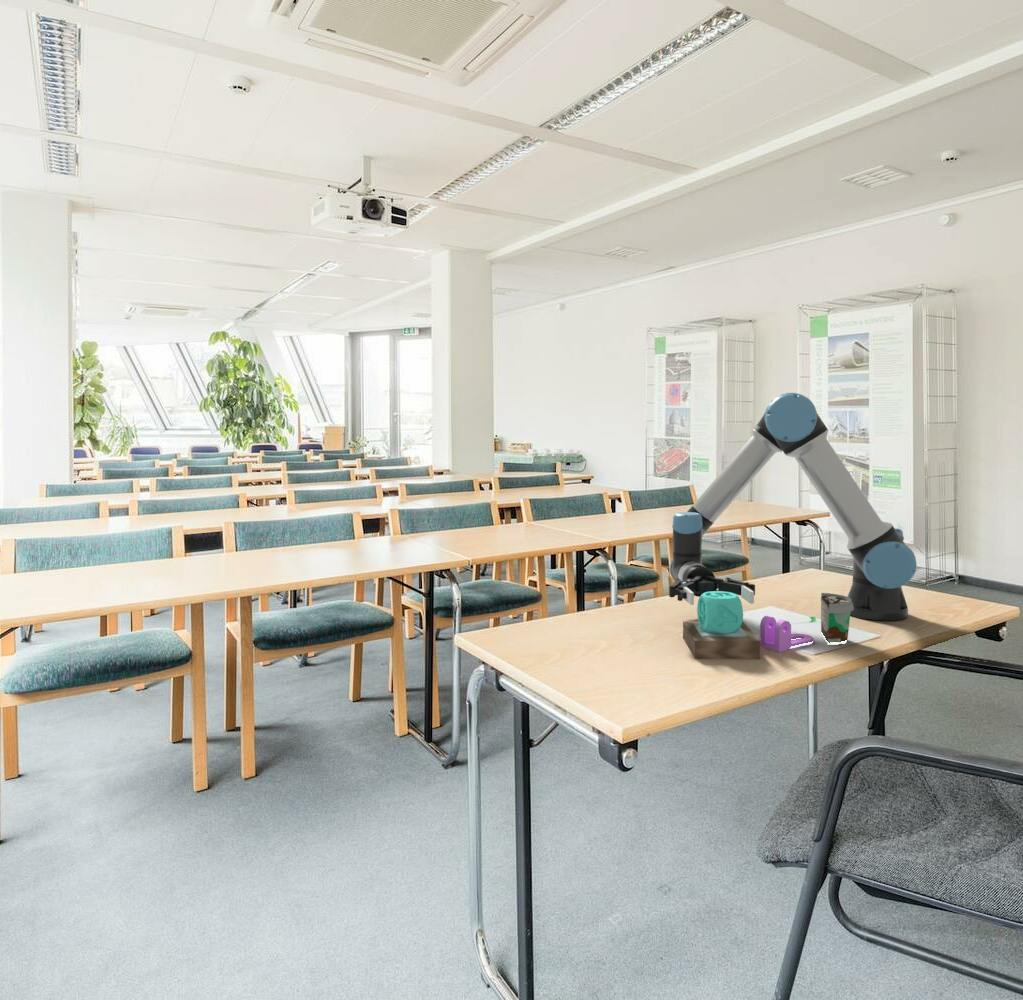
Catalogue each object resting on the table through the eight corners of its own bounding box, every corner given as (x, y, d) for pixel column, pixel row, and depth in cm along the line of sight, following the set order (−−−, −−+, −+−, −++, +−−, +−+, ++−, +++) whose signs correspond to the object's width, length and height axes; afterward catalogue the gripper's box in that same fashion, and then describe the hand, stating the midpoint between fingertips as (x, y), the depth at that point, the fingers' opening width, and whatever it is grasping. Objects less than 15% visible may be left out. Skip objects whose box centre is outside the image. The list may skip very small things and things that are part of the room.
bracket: (779, 652, 169) (779, 622, 168) (759, 646, 174) (760, 616, 173) (818, 643, 175) (819, 614, 174) (798, 638, 180) (799, 609, 179)
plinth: (742, 638, 180) (742, 620, 180) (760, 658, 164) (760, 639, 164) (682, 637, 181) (683, 620, 181) (694, 658, 165) (694, 639, 165)
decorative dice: (743, 633, 168) (743, 598, 168) (707, 634, 168) (708, 599, 167) (730, 624, 176) (730, 590, 176) (696, 625, 176) (697, 591, 175)
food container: (857, 649, 170) (859, 605, 169) (828, 647, 172) (829, 604, 171) (847, 634, 182) (848, 593, 181) (820, 632, 184) (821, 592, 183)
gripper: (745, 592, 192) (776, 613, 171) (647, 594, 191) (666, 615, 170) (746, 563, 191) (777, 580, 170) (647, 565, 191) (667, 583, 169)
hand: (722, 598), depth 170 cm, fingers open, 13 cm apart
